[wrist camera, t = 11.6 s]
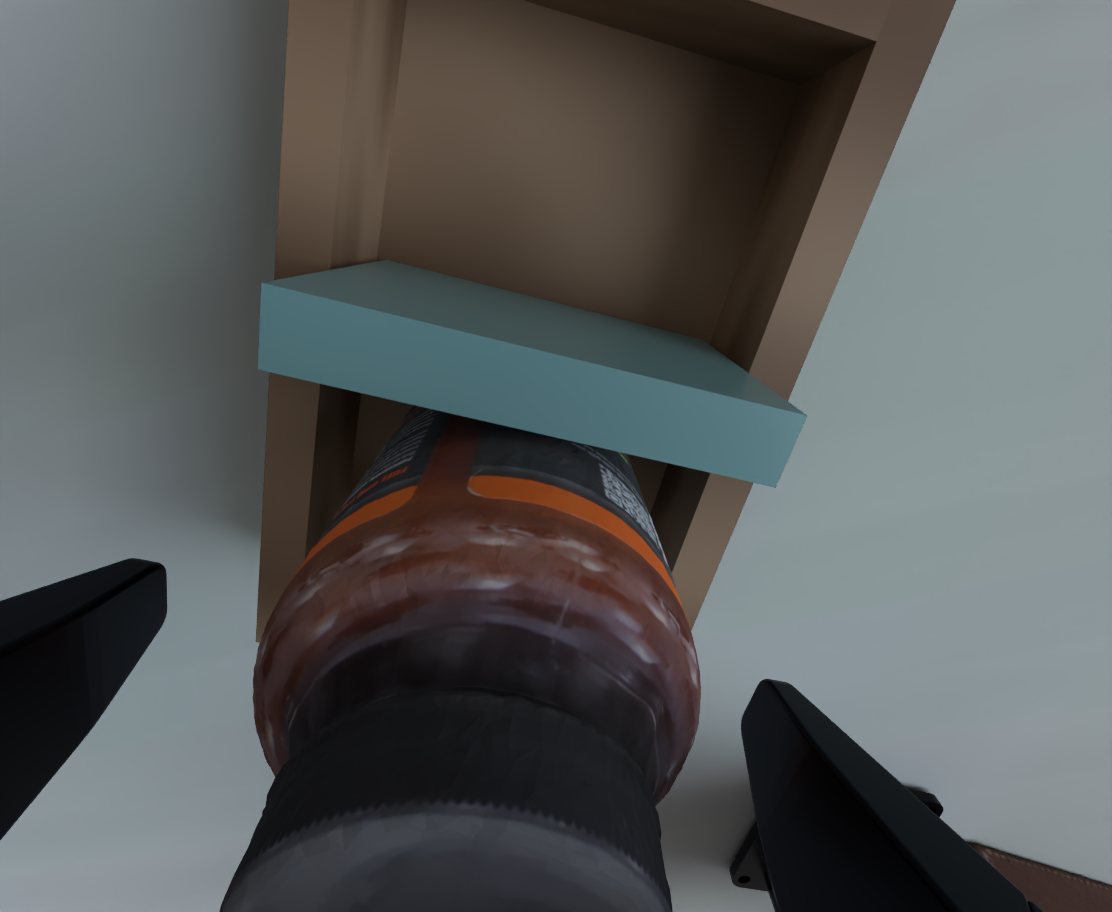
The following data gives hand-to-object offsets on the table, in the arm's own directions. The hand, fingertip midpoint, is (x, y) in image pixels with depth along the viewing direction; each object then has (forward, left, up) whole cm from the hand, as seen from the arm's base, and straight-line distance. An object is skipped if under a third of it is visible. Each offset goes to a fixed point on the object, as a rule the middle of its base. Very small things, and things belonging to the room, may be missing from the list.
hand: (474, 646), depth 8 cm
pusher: (+4, 0, -7) cm, 8 cm away
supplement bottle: (0, 0, -8) cm, 8 cm away
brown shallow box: (+3, 0, -8) cm, 9 cm away
